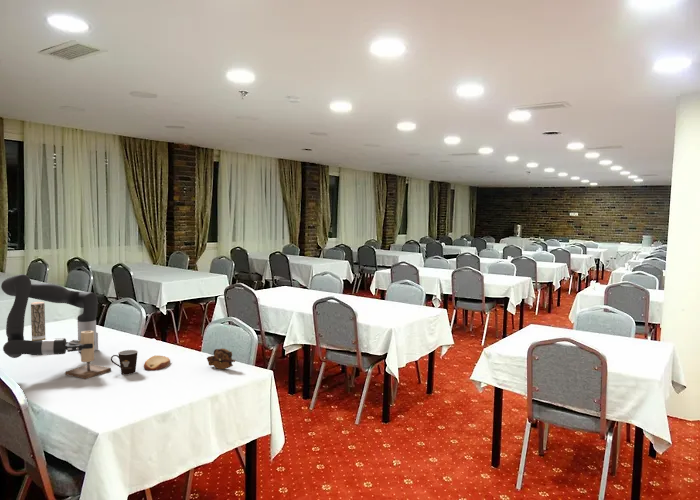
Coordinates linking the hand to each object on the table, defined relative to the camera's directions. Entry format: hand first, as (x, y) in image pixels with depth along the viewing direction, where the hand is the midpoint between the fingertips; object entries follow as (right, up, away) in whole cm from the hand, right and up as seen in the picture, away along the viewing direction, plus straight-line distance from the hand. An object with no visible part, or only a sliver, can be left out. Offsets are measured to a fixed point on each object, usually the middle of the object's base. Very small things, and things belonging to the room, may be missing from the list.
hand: (93, 344), depth 249 cm
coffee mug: (+15, -14, +2) cm, 21 cm away
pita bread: (+25, -14, +15) cm, 32 cm away
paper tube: (-57, -10, +50) cm, 77 cm away
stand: (-2, -14, 0) cm, 14 cm away
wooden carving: (+60, -14, +9) cm, 62 cm away
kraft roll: (-2, -8, 0) cm, 8 cm away
